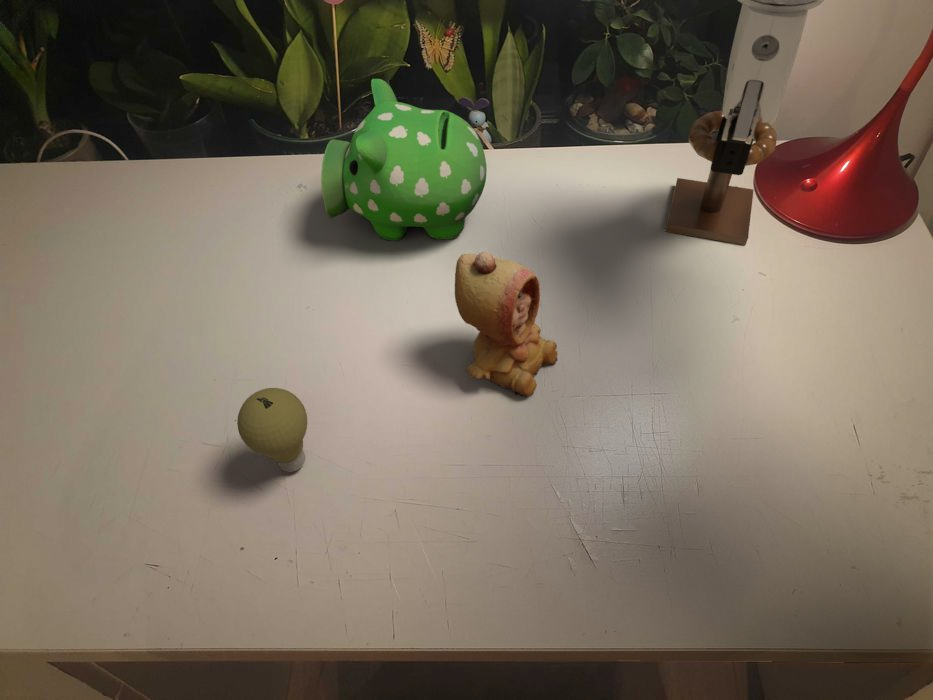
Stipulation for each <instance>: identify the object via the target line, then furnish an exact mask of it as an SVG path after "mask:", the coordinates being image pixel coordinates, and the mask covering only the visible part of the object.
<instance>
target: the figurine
mask: <svg viewBox="0 0 933 700" xmlns="http://www.w3.org/2000/svg"><path fill="white" fill-rule="evenodd" d="M540 286H541V285H540V281H539V278H538V276H537V275H536V274H535V273H534V272H533V271H532V270H530V269H529V268H527V267H525V266H523V265H522V264H520V263H517V262H516V261H511V260H508V259H503V258H499V257H495V256H494V255H493V254H492V253H490V252H487V251H482V252H479V253H478V254H474V253H463V254H460V256H459V257H458V259H457V261H456V265H455V273H454V299H455V304H456V308H457V311H458V313H459V316H460V317H461V319H462V320H463V322H464V323H465V324H467V325H470V326H472V327H474V328H475V329H476V330H477V331H478V334H477V335H476V337H475V339H474V343H473V352H474V361H473V362H472V363H471V364H468V365H467V366H466V368H465V369H466V371H467V374H468V375H469V377H471V378H473V379H478V380H480V379H482V378H483V379H486V380H489V381H490V382H491V383H493V384H494V385H497V386H499V387H503V388H504V389H506V390H509V391H511V392H513V393H514V395H515V396H519V397H521V398H523V397H530V396H533V394H534V393H535V391H536V389H537V386H538V385H537V381H536V379H535V378H534V377H535V376H537V375H538V372H539V371H540V369H541V368H542V366H543V365H555V364H556V363H557V362H558V351H557V350H556V349H557V343H556V342H555V341H554V340H551V339H546V338H542V337H541V331H542V329H541V327H540V326H539V325H538V324H537V323H535V322H536V318H537V317H538V312H539V308H540V301H541V299H540V298H541V288H540Z"/></svg>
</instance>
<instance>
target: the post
mask: <svg viewBox="0 0 933 700" xmlns="http://www.w3.org/2000/svg"><path fill="white" fill-rule="evenodd" d="M732 176H733V174H726V173H719V172H713V171H711V168H710V170H709V174H708V177H707V180H706V181H700V180H693V179H687V178H681V177H677V178H676V182H675V186H674V191H673V195H672V200H671V204H670V208H669V213H668V217H667V221H666V226H665V232H667V233H672V234H679V235H684V236H689V237H694V238H701V239H707V240H711V241H712V240H714V241H718V242H725V243H731V244H736V245H742V246H746V245H747V242H748V240H749V235H750V226H751V218H752V217H751V215H752V209H753V199H754V188H746V187H740V186H733V185H730V183H731V179H732Z"/></svg>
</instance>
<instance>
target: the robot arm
mask: <svg viewBox="0 0 933 700" xmlns="http://www.w3.org/2000/svg"><path fill="white" fill-rule="evenodd" d="M737 2H739V3H741V8H740V12H739V17H738V20H737V24H736V28H735V32H734V37H733V41H732V45H731V50H730V55H729V60H728V66H727V71H726V79H725V84H724V85H725V87H724V92H723V93H724V95H723V103H722V110H721V111H722V114H723V116H724V117H722V121H721V125H720V128H719V130H718V132H717V135H716V140H715V141H717V145H716V149H715V153H714V157H713V160H712V162H711V165H710V169H711V171H713V172H719V173H726V174H732V176H733V175H734V176H742V175H743V173H744V171H745V168H746V166H745V165H746V162H747V159H748V156H749V152H750V149H751V146H752V144H754V138H753V134H754V131H755V128H756V125H757V121H758V119H759V117H760V118H762V122H764V123H768V124H770V125H772V124H774V123H775V122H776V121H777V119H778V116H779V112H780V108H781V106H782V102H783V99H784V95H785V92H786V89H787V86H788V82H789V79H790V77H791V74H792V69H793V67H794V63H795V60H796V58H797V57H796V56H797V54H798V53H797V52H798V51H799V46H800V43H801V40H802V37H803V32H804V29H805V24H806V21H807V16H808V11H809V10H812V9H815V8H817V7H818V6H820V5H821V4H822V3H823V2H824V0H737Z"/></svg>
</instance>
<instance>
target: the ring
mask: <svg viewBox="0 0 933 700" xmlns="http://www.w3.org/2000/svg"><path fill="white" fill-rule="evenodd" d="M722 117H724V116H723V114H722V110H716V111H710V112H706V113H705V114H704V115H702V116H700V117H699V118H698V119H695V120H694V122H693V123H692V124H691V126H690V129H689V133H688V142H689V145H690V146H691V147H692V149H693V150H694V152H695V153H696V154H697V156H699V157H701V158H703V159H705V160H707V161H709V162H711V163H712V160H713V157H714V153H715V149H716V145H717V141H716V140H715V139H713V138H712V137H711V136H710V134H711V133H713V132H715V131H719V128H720V125H721V121H722ZM777 138H778V134H777V131H776V130H775V129H774V127H773V126H772V124H768V123H764V122H762V118H761V116H759V119H758V121H757V125H756V128H755V131H754V134H753V138H752V139H753V141H755V142H753V143H752V146H751V149H750V152H749V156H748V159H747V162H746V165H745V167H747V166H752V165H757V164H760V163H762V162H763V161H764V160H766V159H767V158H769V157H770V156H772V155H773V153H774V152H775V151H776V148H777V140H778V139H777Z"/></svg>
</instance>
